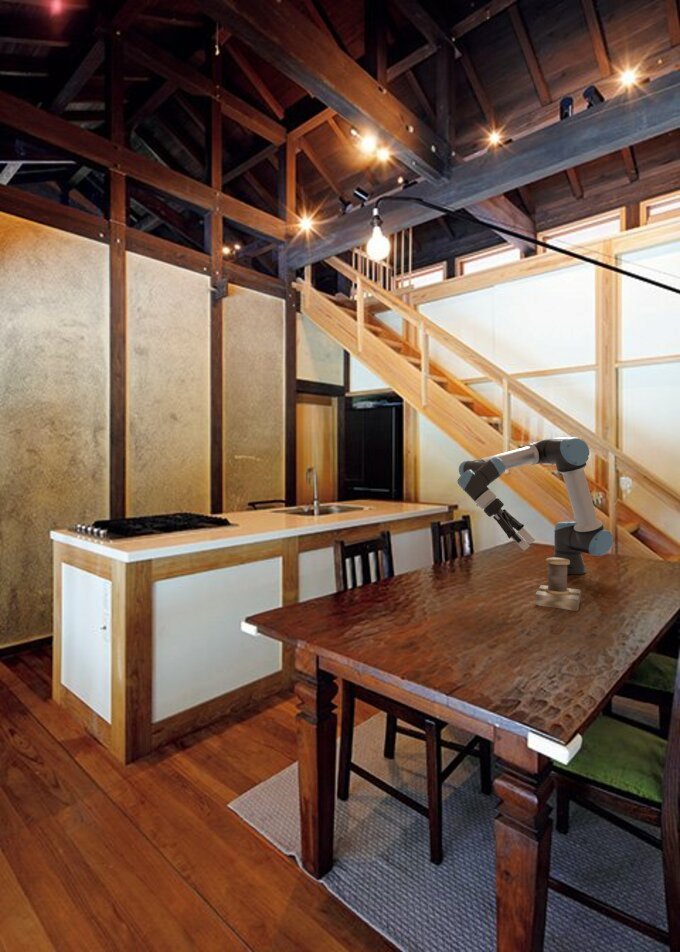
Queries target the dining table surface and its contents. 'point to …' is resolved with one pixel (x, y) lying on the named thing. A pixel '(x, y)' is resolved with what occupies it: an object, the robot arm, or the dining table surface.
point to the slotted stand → (558, 599)
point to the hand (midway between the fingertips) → (529, 545)
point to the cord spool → (557, 576)
